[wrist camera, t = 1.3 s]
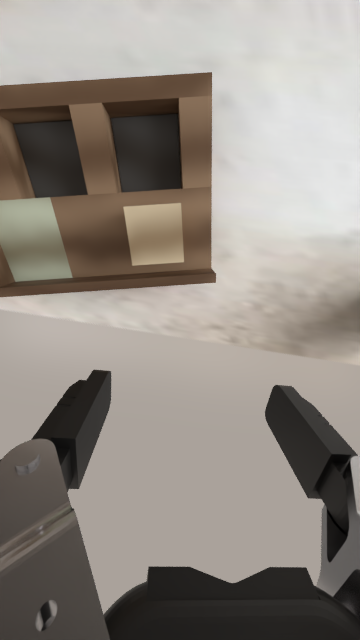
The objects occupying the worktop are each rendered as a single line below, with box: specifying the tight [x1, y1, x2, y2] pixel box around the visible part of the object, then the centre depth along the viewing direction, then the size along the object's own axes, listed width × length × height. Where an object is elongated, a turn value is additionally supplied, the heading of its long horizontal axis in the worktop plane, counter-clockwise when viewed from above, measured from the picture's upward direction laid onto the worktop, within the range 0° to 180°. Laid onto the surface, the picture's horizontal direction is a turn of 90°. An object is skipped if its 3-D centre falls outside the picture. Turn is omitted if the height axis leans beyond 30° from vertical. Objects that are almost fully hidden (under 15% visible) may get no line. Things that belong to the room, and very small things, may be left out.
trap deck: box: [0, 72, 216, 297], centre depth 22 cm, size 18×25×6 cm
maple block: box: [123, 203, 184, 266], centre depth 21 cm, size 5×5×5 cm
